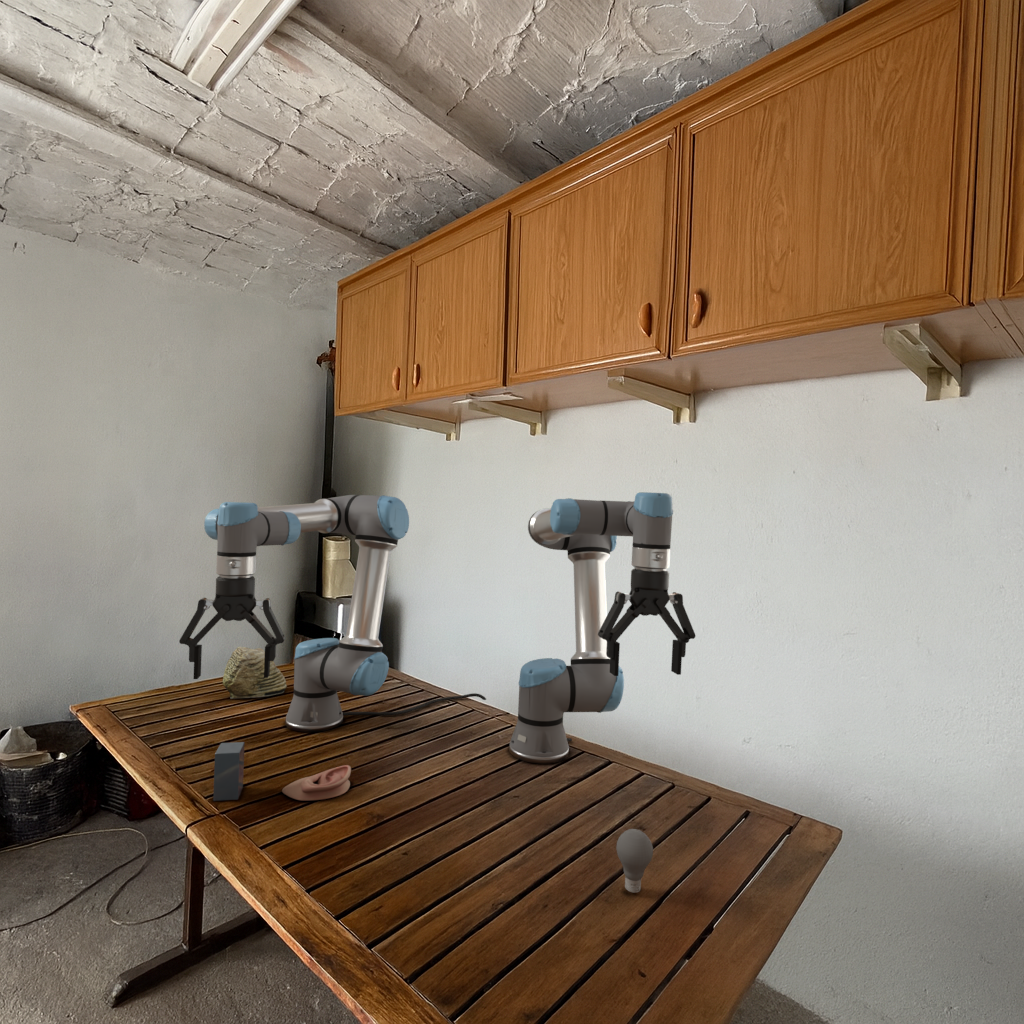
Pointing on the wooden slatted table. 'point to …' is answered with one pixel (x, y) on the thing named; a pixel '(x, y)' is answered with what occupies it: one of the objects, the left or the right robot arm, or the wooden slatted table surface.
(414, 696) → the wooden slatted table surface
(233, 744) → the brick
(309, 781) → the anatomical model
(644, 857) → the light bulb
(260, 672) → the fossil
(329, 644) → the left robot arm
